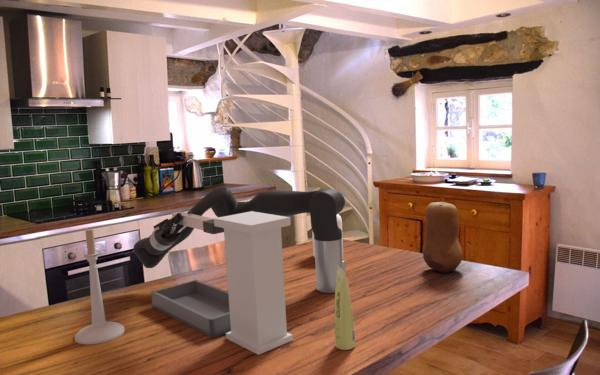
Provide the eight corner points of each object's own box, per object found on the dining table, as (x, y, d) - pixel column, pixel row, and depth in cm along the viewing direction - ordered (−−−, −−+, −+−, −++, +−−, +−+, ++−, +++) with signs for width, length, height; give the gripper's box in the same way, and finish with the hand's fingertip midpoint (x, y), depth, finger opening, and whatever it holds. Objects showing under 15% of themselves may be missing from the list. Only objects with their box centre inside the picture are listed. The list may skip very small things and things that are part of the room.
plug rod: (169, 223, 154) (168, 213, 154) (184, 220, 158) (183, 211, 157) (213, 234, 136) (212, 223, 135) (228, 231, 139) (228, 220, 139)
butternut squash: (466, 268, 182) (466, 200, 179) (456, 278, 171) (455, 206, 168) (429, 264, 190) (428, 198, 187) (417, 273, 178) (415, 204, 175)
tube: (329, 346, 123) (325, 269, 121) (341, 339, 127) (337, 264, 125) (348, 352, 120) (344, 273, 117) (359, 345, 124) (356, 268, 121)
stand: (222, 338, 132) (213, 218, 128) (258, 324, 140) (251, 211, 136) (259, 356, 120) (250, 225, 116) (296, 340, 128) (290, 217, 124)
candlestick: (112, 321, 148) (102, 221, 144) (132, 332, 138) (122, 226, 135) (67, 335, 139) (55, 229, 135) (86, 348, 130) (73, 235, 126)
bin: (152, 307, 158) (151, 291, 158) (197, 294, 169) (195, 279, 168) (211, 338, 132) (210, 320, 131) (260, 320, 143) (259, 303, 142)
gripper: (141, 228, 160) (160, 206, 147) (180, 221, 169) (202, 200, 157) (147, 250, 158) (168, 229, 146) (187, 242, 167) (210, 222, 155)
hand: (185, 214), depth 151 cm, fingers closed on plug rod, 3 cm apart
